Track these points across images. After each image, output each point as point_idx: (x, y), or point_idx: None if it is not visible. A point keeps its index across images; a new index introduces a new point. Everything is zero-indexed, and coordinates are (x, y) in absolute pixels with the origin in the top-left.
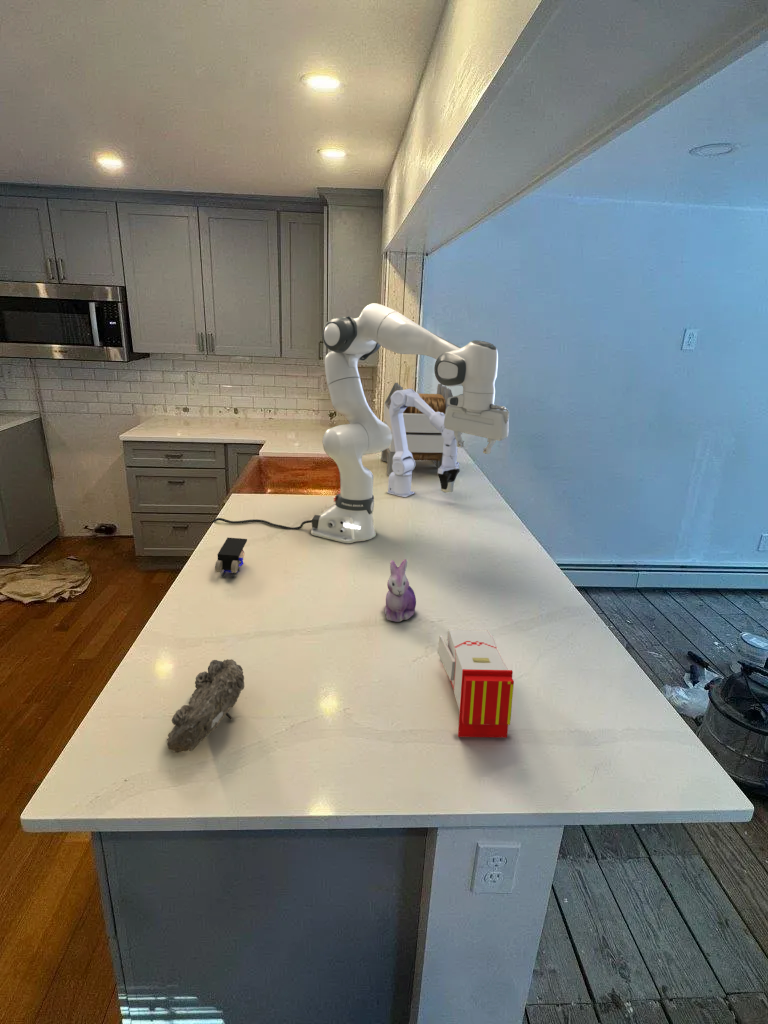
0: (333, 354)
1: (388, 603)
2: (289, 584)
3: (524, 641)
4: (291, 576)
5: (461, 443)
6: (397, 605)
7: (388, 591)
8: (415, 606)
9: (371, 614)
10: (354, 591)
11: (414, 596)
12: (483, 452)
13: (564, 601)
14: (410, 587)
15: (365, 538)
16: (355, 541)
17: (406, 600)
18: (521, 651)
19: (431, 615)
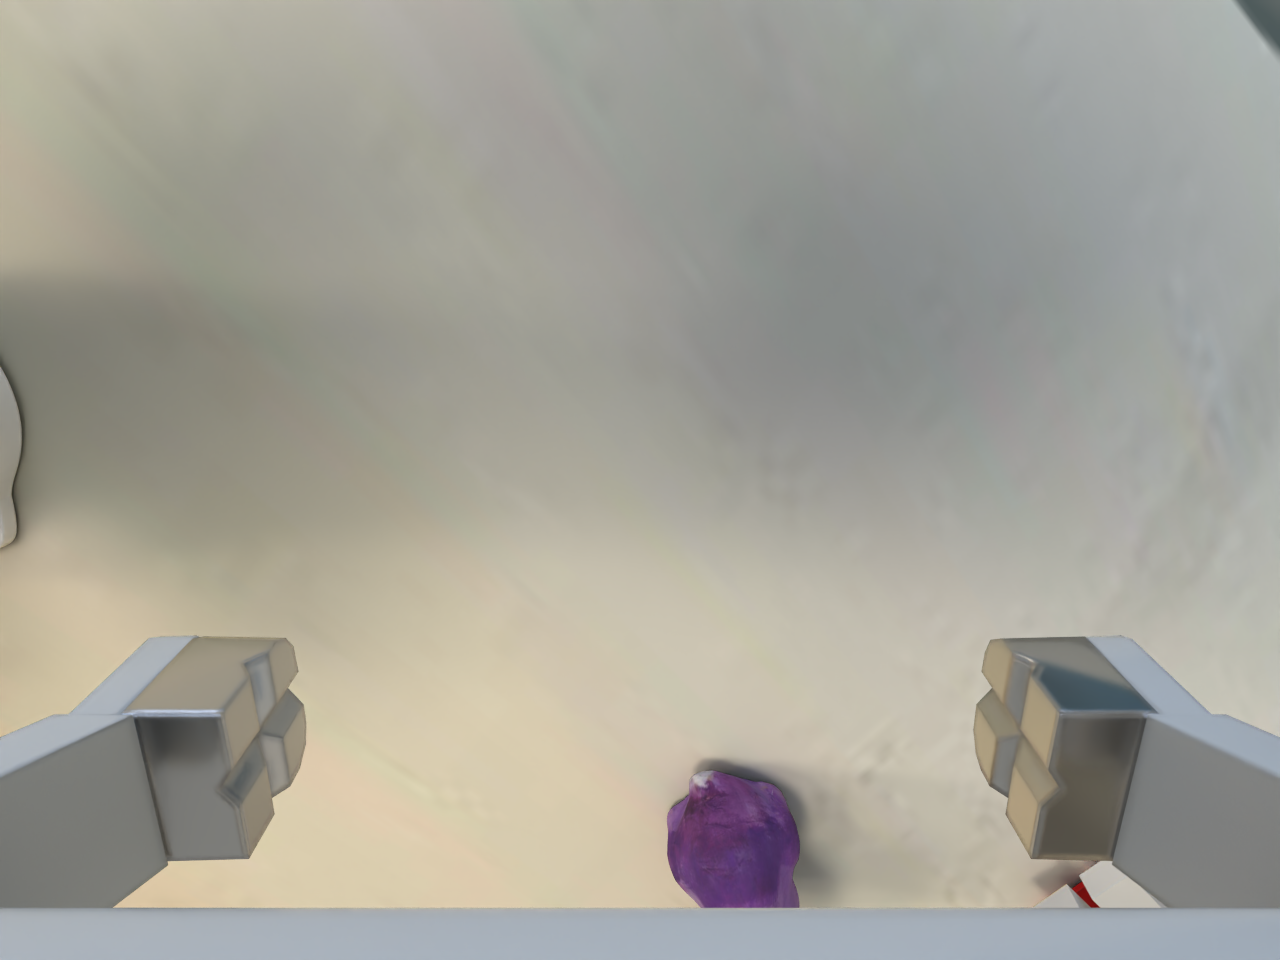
0: None
1: None
2: None
3: (1222, 644)
4: None
5: (263, 790)
6: None
7: (687, 893)
8: (790, 813)
9: (667, 887)
10: (486, 826)
11: (786, 842)
12: (988, 759)
13: (1276, 187)
14: (760, 860)
15: (10, 439)
16: (10, 493)
17: (798, 903)
18: (1235, 704)
19: (835, 748)
